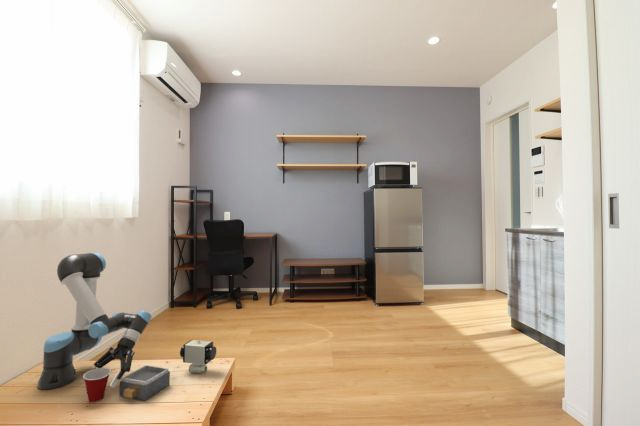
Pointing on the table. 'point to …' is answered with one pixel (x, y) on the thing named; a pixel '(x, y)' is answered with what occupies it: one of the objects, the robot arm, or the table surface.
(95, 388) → the plastic cup
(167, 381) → the square tray with tab
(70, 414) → the table surface
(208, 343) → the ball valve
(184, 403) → the table surface
